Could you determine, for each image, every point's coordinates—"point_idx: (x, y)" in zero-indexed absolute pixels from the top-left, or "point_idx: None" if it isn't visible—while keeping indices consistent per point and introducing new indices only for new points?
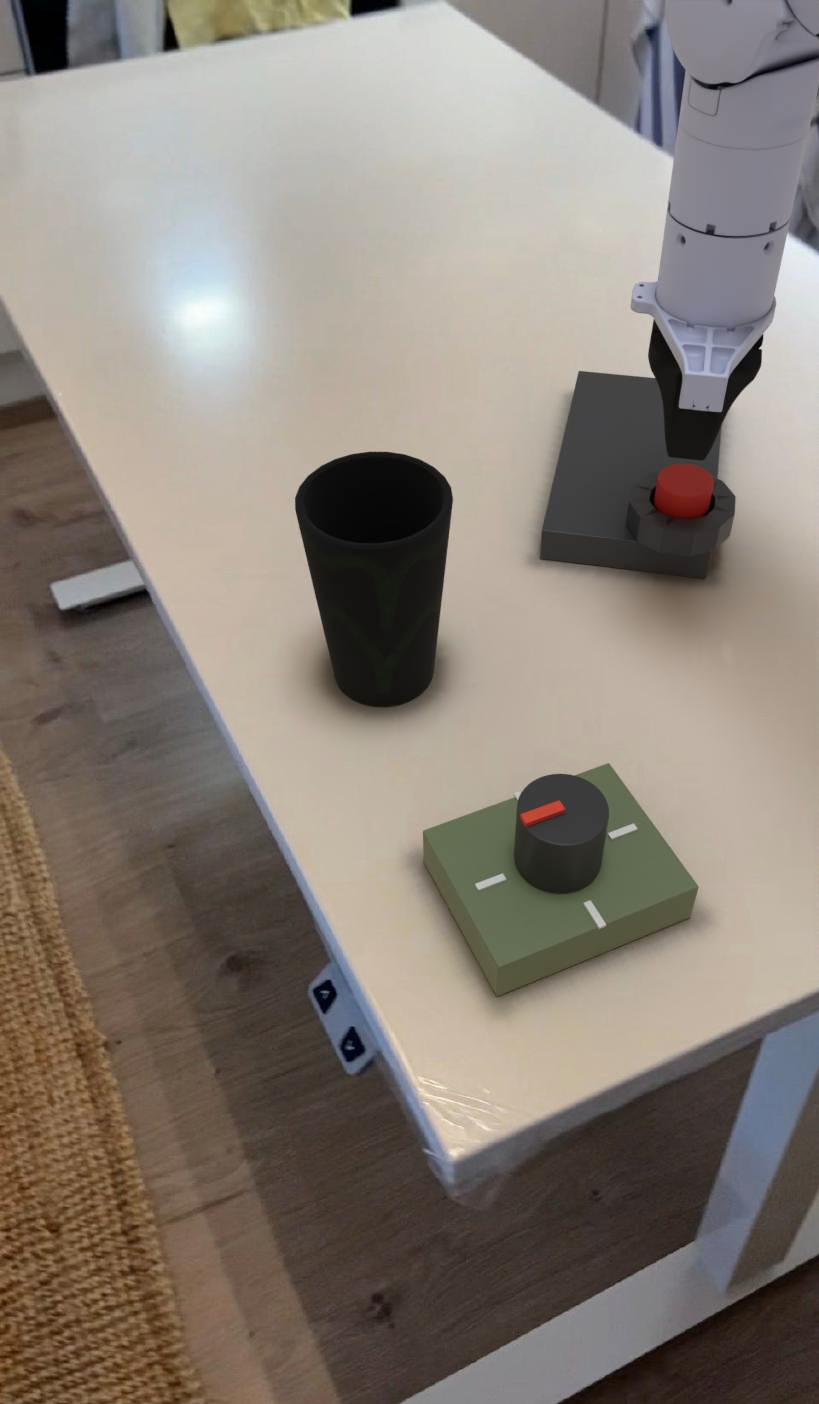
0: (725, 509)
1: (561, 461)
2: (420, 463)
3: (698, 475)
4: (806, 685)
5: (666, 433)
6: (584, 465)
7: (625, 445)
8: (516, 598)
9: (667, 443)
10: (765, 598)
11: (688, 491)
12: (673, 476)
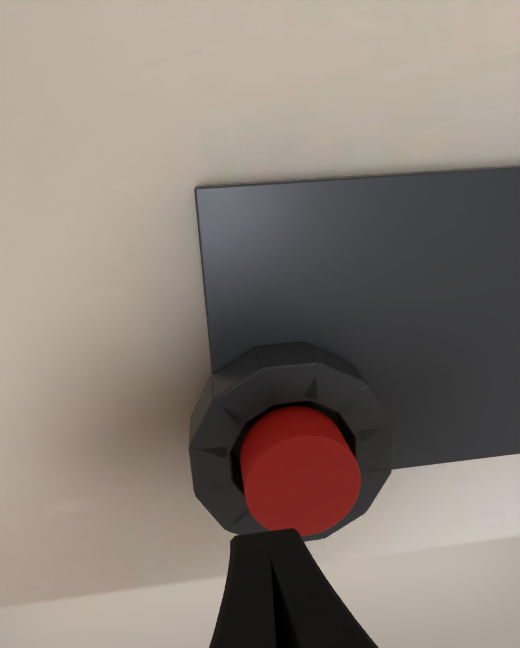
0: None
1: (436, 180)
2: None
3: (325, 506)
4: (41, 600)
5: (223, 594)
6: (430, 231)
7: (505, 298)
8: (70, 166)
9: (230, 565)
10: (202, 532)
11: (263, 501)
12: (308, 465)
